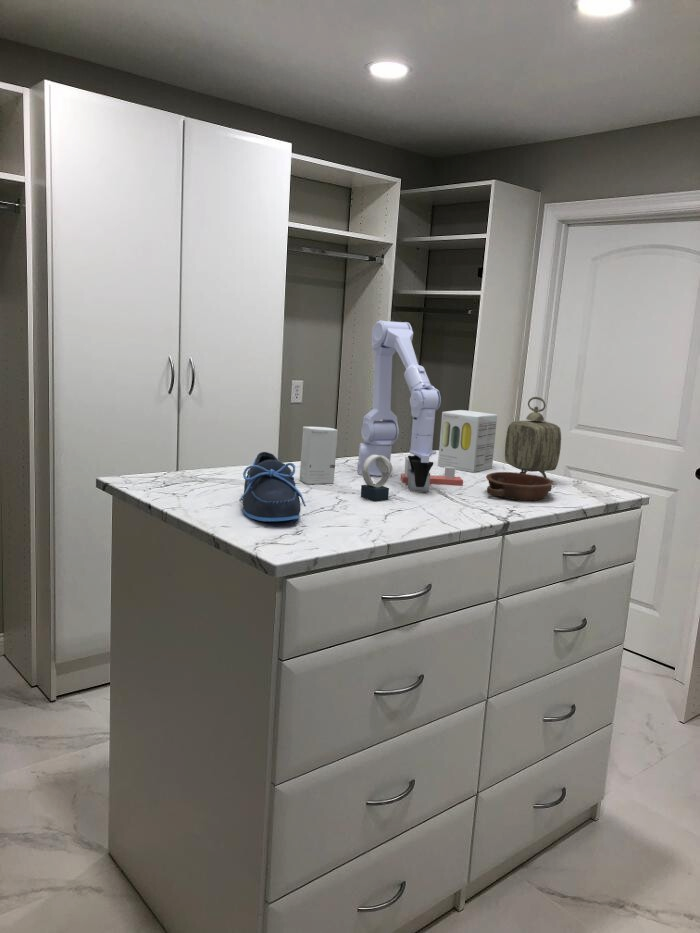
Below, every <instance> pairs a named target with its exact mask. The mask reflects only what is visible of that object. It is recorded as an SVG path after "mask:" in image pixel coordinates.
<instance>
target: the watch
mask: <svg viewBox="0 0 700 933" xmlns="http://www.w3.org/2000/svg"><path fill="white" fill-rule="evenodd" d="M374 459H376V461H375V464H376V466H377V468H378V469H379V470H380V472H381V474H383V475H382V476H380V477H381V478H380V479H379V480H378V482H376V483H374V482H373V480H372V477H371V476H372V475H370V473H369V466H370V464H371V462H372V461H373V460H374ZM392 472H393V465H392V462H391V460H390V461H389V460H388V459H387V458H386V457H385V456H382V455H380V456H379V455H370V456H369V457H368V458H367V459H366V460H365V462H364V464H363V467H362V475H361V476H362V478H363V481H364V483H365V484H361V489H360V498H362V499H365V500H367V501H371V502H375V503H377V502H385V501H389V492H390V487H387V486H385V485H386V484H387V483H388V481H389V479H390V477H392V476H391V473H392Z"/></svg>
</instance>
